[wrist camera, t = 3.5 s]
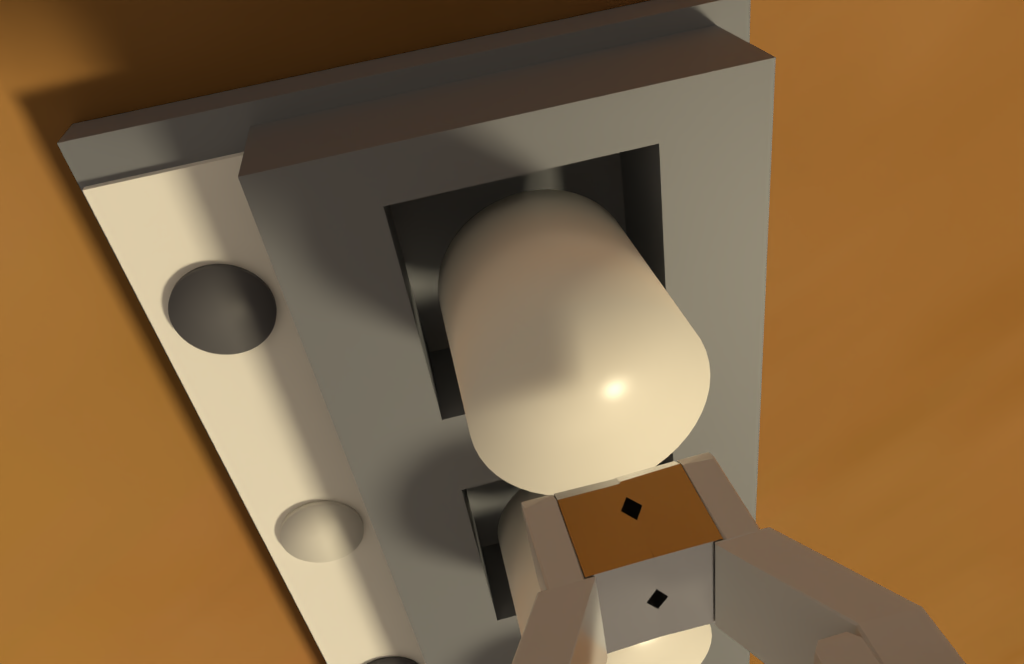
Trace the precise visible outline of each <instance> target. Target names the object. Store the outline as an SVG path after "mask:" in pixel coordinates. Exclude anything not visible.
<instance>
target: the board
mask: <svg viewBox="0 0 1024 664" xmlns="http://www.w3.org/2000/svg"><path fill="white" fill-rule="evenodd" d="M749 41H750V0H650V1H645V2H641V3H636V4H631V5H627V6H622V7H617V8H613V9H608V10H603V11H599V12H594V13H589V14H585V15H580V16H575V17H571V18H566V19H561V20H557V21H552V22H547V23H543V24H538V25H533V26H528V27H524V28H519V29H514V30H510V31H505V32H500V33H496V34H491V35H486V36H482V37H477V38H472V39H468V40H463V41H458V42H454V43H449V44H444V45H440V46H435V47H430V48H426V49H421V50H416V51H412V52H407V53H402V54H398V55H393V56H388V57H384V58H379V59H374V60H369V61H365V62H360V63H355V64H351V65H346V66H341V67H337V68H332V69H327V70H323V71H318V72H313V73H309V74H304V75H299V76H295V77H290V78H285V79H281V80H276V81H271V82H267V83H262V84H257V85H253V86H248V87H243V88H239V89H234V90H229V91H224V92H220V93H215V94H210V95H206V96H201V97H196V98H192V99H187V100H182V101H178V102H173V103H168V104H164V105H159V106H154V107H150V108H145V109H140V110H136V111H131V112H126V113H122V114H117V115H112V116H108V117H103V118H98V119H94V120H89V121H84V122H80V123H75V124H72V125H71V127H70V128H69V129H68V130H67V131H66V133H65V134H64V135H63V136H62V138H61V139H60V140H59V141H58V143H57V144H58V146H59V148H60V150H61V152H62V154H63V156H64V158H65V160H66V162H67V164H68V166H69V167H70V169H71V171H72V173H73V175H74V177H75V179H76V181H77V183H78V185H79V187H80V189H81V191H82V193H83V194H84V196H85V198H86V200H87V202H88V204H89V206H90V208H91V210H92V212H93V214H94V216H95V218H96V220H97V221H98V223H99V225H100V227H101V229H102V231H103V233H104V235H105V237H106V239H107V241H108V243H109V245H110V247H111V248H112V250H113V252H114V254H115V256H116V258H117V260H118V262H119V264H120V266H121V268H122V270H123V272H124V274H125V275H126V277H127V279H128V281H129V283H130V285H131V287H132V289H133V291H134V293H135V295H136V297H137V299H138V301H139V302H140V304H141V306H142V308H143V310H144V312H145V314H146V316H147V318H148V320H149V322H150V324H151V326H152V328H153V329H154V331H155V333H156V335H157V337H158V339H159V341H160V343H161V345H162V347H163V349H164V351H165V353H166V355H167V356H168V358H169V360H170V362H171V364H172V366H173V368H174V370H175V372H176V374H177V376H178V378H179V380H180V382H181V384H182V385H183V387H184V389H185V391H186V393H187V395H188V397H189V399H190V401H191V403H192V405H193V407H194V409H195V411H196V412H197V414H198V416H199V418H200V420H201V422H202V424H203V426H204V428H205V430H206V432H207V434H208V436H209V438H210V439H211V441H212V443H213V445H214V447H215V449H216V451H217V453H218V455H219V457H220V459H221V461H222V463H223V465H224V466H225V468H226V470H227V472H228V474H229V476H230V478H231V480H232V482H233V484H234V486H235V488H236V490H237V492H238V493H239V495H240V497H241V499H242V501H243V503H244V505H245V507H246V509H247V511H248V513H249V515H250V517H251V519H252V520H253V522H254V524H255V526H256V528H257V530H258V532H259V534H260V536H261V538H262V540H263V542H264V544H265V546H266V547H267V549H268V551H269V553H270V555H271V557H272V559H273V561H274V563H275V565H276V567H277V569H278V571H279V573H280V574H281V576H282V578H283V580H284V582H285V584H286V586H287V588H288V590H289V592H290V594H291V596H292V598H293V600H294V602H295V603H296V605H297V607H298V609H299V611H300V613H301V615H302V617H303V619H304V621H305V623H306V625H307V627H308V629H309V630H310V632H311V634H312V636H313V638H314V640H315V642H316V644H317V646H318V648H319V650H320V652H321V654H322V656H323V657H324V659H325V661H326V663H327V664H512V662H513V659H514V656H515V653H516V651H517V648H518V645H519V642H520V640H521V633H520V628H519V624H518V620H517V616H516V612H515V607H514V603H513V599H512V595H511V591H510V586H509V582H508V578H507V574H506V570H505V565H504V561H503V557H502V553H501V548H500V544H499V540H498V524H499V520H500V517H501V514H502V512H503V510H504V508H505V507H506V505H507V504H508V502H509V501H510V500H511V498H512V497H513V496H514V495H515V494H516V493H517V492H518V491H519V490H520V489H521V488H518V487H516V486H514V485H512V484H510V483H507V482H506V481H504V480H503V479H501V478H500V477H498V476H497V475H496V474H495V473H493V472H492V471H491V470H490V469H489V468H488V467H487V466H486V465H485V463H484V462H483V461H482V460H481V458H480V457H479V455H478V453H477V451H476V450H475V448H474V445H473V442H472V439H471V436H470V432H469V428H468V424H467V419H466V415H465V411H464V407H463V402H462V398H461V394H460V389H459V385H458V381H457V376H456V372H455V368H454V363H453V359H452V355H451V350H450V346H449V342H448V338H447V333H446V329H445V325H444V320H443V316H442V312H441V307H440V302H439V296H438V278H439V271H440V267H441V264H442V260H443V258H444V255H445V253H446V251H447V249H448V247H449V245H450V244H451V242H452V240H453V239H454V237H455V236H456V234H457V233H458V232H459V231H460V229H461V228H462V227H463V226H464V225H465V224H466V223H467V222H468V221H469V220H470V219H471V218H472V217H473V216H475V215H476V214H477V213H479V212H480V211H481V210H483V209H484V208H486V207H487V206H489V205H491V204H493V203H494V202H496V201H499V200H501V199H503V198H505V197H508V196H511V195H514V194H518V193H521V192H526V191H532V190H544V189H552V190H563V191H567V192H572V193H576V194H579V195H581V196H584V197H587V198H589V199H590V200H592V201H594V202H596V203H598V204H599V205H600V206H602V207H603V208H604V209H606V210H607V211H608V212H609V213H610V214H611V215H612V216H613V217H614V218H615V220H616V221H617V222H618V224H619V225H620V227H621V228H622V229H623V231H624V232H625V234H626V235H627V236H628V238H629V239H630V241H631V242H632V243H633V245H634V246H635V248H636V249H637V250H638V252H639V253H640V255H641V256H642V257H643V259H644V260H645V262H646V263H647V264H648V266H649V267H650V269H651V270H652V272H653V273H654V274H655V276H656V277H657V279H658V280H659V281H660V283H661V284H662V286H663V287H664V288H665V290H666V291H667V293H668V294H669V295H670V297H671V298H672V300H673V301H674V302H675V304H676V305H677V307H678V308H679V309H680V311H681V312H682V314H683V315H684V316H685V318H686V319H687V321H688V322H689V324H690V325H691V326H692V328H693V329H694V331H695V332H696V333H697V335H698V336H699V338H700V339H701V341H702V343H703V345H704V347H705V349H706V352H707V356H708V360H709V365H710V387H709V392H708V396H707V400H706V403H705V406H704V408H703V411H702V413H701V415H700V417H699V419H698V421H697V423H696V425H695V426H694V428H693V429H692V430H691V432H690V433H689V435H688V436H687V437H686V439H685V440H684V441H683V442H682V443H681V444H680V445H679V447H678V448H677V449H675V450H674V451H673V452H672V453H671V454H670V455H669V456H668V457H667V458H666V459H664V460H663V461H662V462H660V463H659V464H658V465H657V466H659V465H662V464H666V463H669V462H673V461H675V462H677V460H681V459H685V458H688V457H692V456H696V455H699V454H703V453H706V452H708V453H710V454H711V455H713V456H714V457H715V459H716V461H717V462H718V464H719V465H720V467H721V468H722V470H723V472H724V473H725V475H726V476H727V478H728V479H729V481H730V483H731V484H732V486H733V487H734V489H735V491H736V492H737V494H738V495H739V497H740V498H741V500H742V502H743V503H744V505H745V506H746V508H747V509H748V511H749V513H750V514H751V516H752V517H753V519H754V520H756V497H757V474H758V451H759V428H760V405H761V382H762V359H763V335H764V312H765V289H766V266H767V243H768V220H769V197H770V174H771V151H772V128H773V105H774V82H775V59H776V57H774V56H772V55H770V54H768V53H767V52H765V51H763V50H761V49H759V48H757V47H756V46H754V45H752V44H750V43H749ZM710 626H711V631H712V639H711V645H710V648H709V651H708V653H707V655H706V657H705V658H704V660H703V661H702V663H701V664H749V658H750V652H749V651H748V650H747V649H745V648H744V647H743V646H742V645H740V644H739V643H738V642H736V641H735V640H734V639H732V638H731V637H730V636H728V635H727V634H726V633H725V632H723V631H722V630H721V629H719V628H718V627H717V626H715V623H711V624H710Z"/></svg>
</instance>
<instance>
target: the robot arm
mask: <svg viewBox="0 0 1024 664" xmlns="http://www.w3.org/2000/svg"><path fill="white" fill-rule="evenodd" d="M521 507H522V512H523V516H524V521H525V526H526V531H527V535H528V540H529V545H530V550H531V554H532V558H533V562H534V567H535V571H536V575H537V579H538V583H539V587H540V590H541V592H538V593H537V595H536V598H535V601H534V604H533V606H532V609H531V612H530V615H529V617H528V620H527V623H526V626H525V629H524V631H523V634H522V637H521V640H520V642H519V645H518V648H517V651H516V653H515V656H514V659H513V662H512V664H606V663H607V658H608V657H607V654H608V653H611V652H614V651H618V650H621V649H624V648H627V647H630V646H633V645H636V644H639V643H642V642H646V641H649V640H652V639H655V638H658V637H662V636H665V635H669V634H673V633H677V632H681V631H685V630H688V629H692V628H696V627H700V626H704V625H708V624H711V623H715V626H717V627H718V628H719V629H721V630H722V631H723V632H725V633H726V634H727V635H728V636H730V637H731V638H732V639H734V640H735V641H736V642H738V643H739V644H740V645H742V646H743V647H744V648H745V649H747V650H748V651H749V652H751V653H752V654H753V655H755V656H756V657H757V658H758V659H760V660H761V661H762V662H764V663H765V664H966V663H965V662H964V661H963V659H962V658H961V657H960V656H959V654H958V653H957V652H956V650H955V649H954V648H953V647H952V645H951V644H950V643H949V641H948V640H947V639H946V637H945V636H944V635H943V634H942V632H941V631H940V630H939V628H938V627H937V626H936V624H935V623H934V622H933V621H932V619H931V618H930V617H929V615H928V614H927V613H926V611H925V610H924V609H923V608H922V607H921V606H919V605H917V604H915V603H913V602H911V601H909V600H907V599H905V598H904V597H902V596H900V595H898V594H896V593H894V592H892V591H890V590H888V589H886V588H884V587H883V586H881V585H879V584H877V583H875V582H873V581H871V580H869V579H867V578H865V577H863V576H862V575H860V574H858V573H856V572H854V571H852V570H850V569H848V568H846V567H844V566H843V565H841V564H839V563H837V562H835V561H833V560H831V559H829V558H827V557H825V556H823V555H822V554H820V553H818V552H816V551H814V550H812V549H810V548H808V547H806V546H804V545H802V544H801V543H799V542H797V541H795V540H793V539H791V538H789V537H787V536H785V535H783V534H782V533H780V532H778V531H776V530H774V529H772V528H770V527H769V528H765V529H761V530H760V528H759V527H758V525H757V524H756V522H755V520H754V519H753V517H752V516H751V514H750V513H749V511H748V509H747V508H746V506H745V505H744V503H743V502H742V500H741V498H740V497H739V495H738V494H737V492H736V491H735V489H734V487H733V486H732V484H731V483H730V481H729V479H728V478H727V476H726V475H725V473H724V472H723V470H722V468H721V467H720V465H719V464H718V462H717V461H716V459H715V457H714V456H713V455H711V454H710V453H708V452H706V453H703V454H699V455H696V456H692V457H688V458H685V459H681V460H677V462H675V461H673V462H669V463H666V464H662V465H659V466H655V467H652V468H648V469H645V470H641V471H638V472H634V473H630V474H627V475H623V476H620V477H616V478H615V479H612V480H608V481H604V482H599V483H595V484H591V485H587V486H583V487H579V488H575V489H571V490H567V491H563V492H558V493H554V496H553V494H552V495H548V496H544V497H540V498H536V499H532V500H528V501H524V502H522V503H521Z"/></svg>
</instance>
